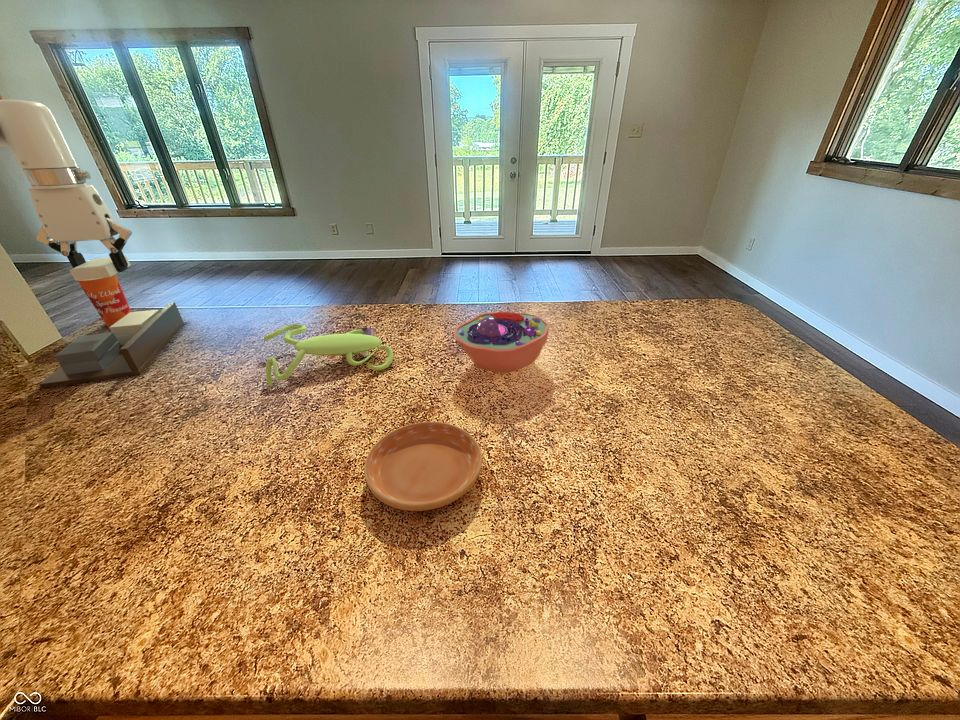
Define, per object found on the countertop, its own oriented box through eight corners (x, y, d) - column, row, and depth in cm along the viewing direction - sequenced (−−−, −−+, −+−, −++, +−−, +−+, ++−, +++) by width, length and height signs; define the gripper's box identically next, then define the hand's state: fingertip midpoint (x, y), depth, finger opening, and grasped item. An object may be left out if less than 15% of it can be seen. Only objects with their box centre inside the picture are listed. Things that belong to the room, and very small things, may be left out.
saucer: (392, 429, 61) (390, 415, 60) (490, 440, 59) (490, 425, 58) (346, 512, 48) (341, 496, 46) (470, 531, 45) (469, 514, 44)
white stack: (117, 345, 86) (108, 328, 83) (136, 328, 93) (127, 312, 91) (151, 341, 87) (143, 324, 85) (166, 325, 95) (159, 309, 93)
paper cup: (100, 332, 94) (69, 277, 87) (103, 321, 100) (74, 269, 93) (139, 324, 98) (113, 271, 91) (140, 314, 104) (115, 263, 97)
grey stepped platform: (41, 388, 73) (22, 361, 70) (109, 332, 94) (97, 309, 91) (140, 374, 77) (126, 348, 74) (184, 323, 98) (174, 302, 95)
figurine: (273, 345, 87) (266, 323, 84) (391, 332, 93) (388, 311, 90) (251, 389, 72) (242, 364, 69) (395, 371, 77) (391, 347, 74)
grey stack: (64, 375, 75) (51, 356, 73) (89, 353, 82) (78, 335, 80) (103, 370, 76) (92, 351, 74) (125, 349, 84) (115, 331, 82)
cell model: (565, 367, 78) (572, 317, 72) (484, 398, 69) (483, 343, 63) (516, 336, 90) (518, 291, 85) (441, 359, 81) (438, 310, 76)
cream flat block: (75, 280, 77) (68, 270, 75) (99, 268, 84) (93, 258, 83) (110, 277, 78) (104, 266, 77) (130, 265, 85) (125, 255, 84)
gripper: (120, 175, 77) (158, 263, 86) (12, 178, 73) (65, 271, 82) (100, 178, 71) (144, 273, 80) (-18, 182, 67) (42, 281, 76)
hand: (103, 271), depth 81 cm, fingers closed on cream flat block, 6 cm apart
